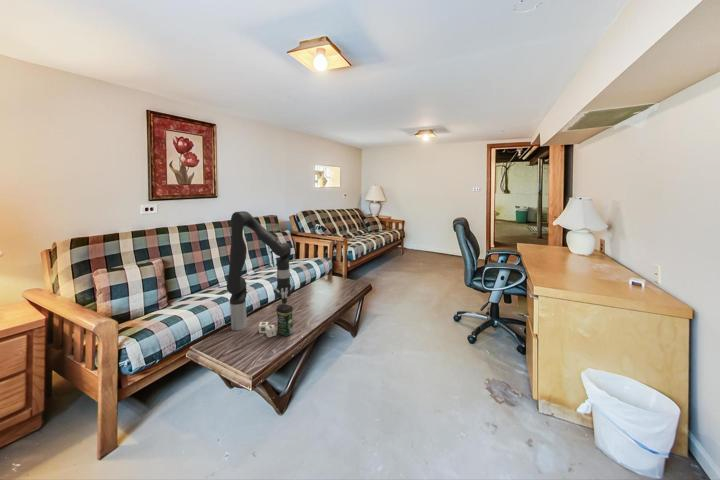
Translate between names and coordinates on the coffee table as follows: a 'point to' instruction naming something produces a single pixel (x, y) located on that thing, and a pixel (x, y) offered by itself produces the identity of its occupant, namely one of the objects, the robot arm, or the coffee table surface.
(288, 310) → the coffee jar
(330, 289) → the coffee table surface
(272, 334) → the marked block
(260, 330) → the marked block
